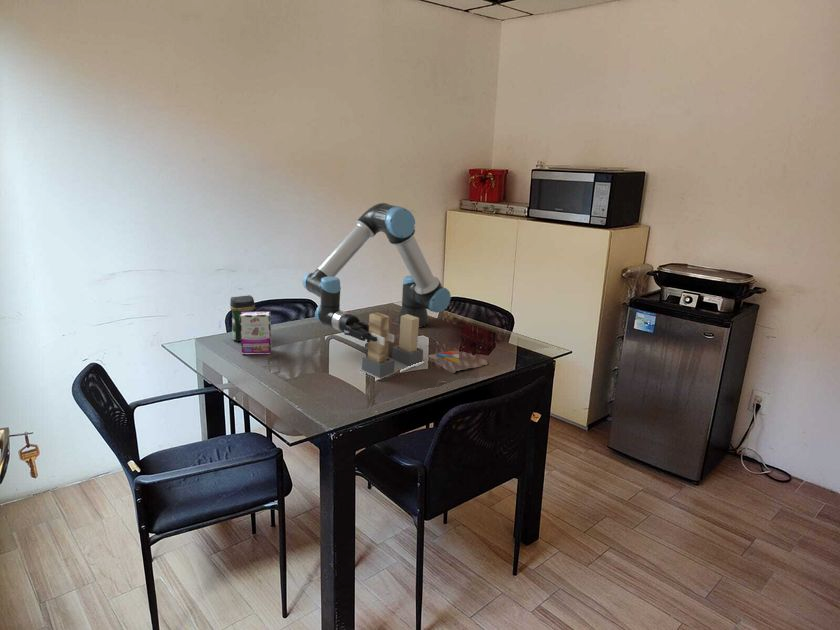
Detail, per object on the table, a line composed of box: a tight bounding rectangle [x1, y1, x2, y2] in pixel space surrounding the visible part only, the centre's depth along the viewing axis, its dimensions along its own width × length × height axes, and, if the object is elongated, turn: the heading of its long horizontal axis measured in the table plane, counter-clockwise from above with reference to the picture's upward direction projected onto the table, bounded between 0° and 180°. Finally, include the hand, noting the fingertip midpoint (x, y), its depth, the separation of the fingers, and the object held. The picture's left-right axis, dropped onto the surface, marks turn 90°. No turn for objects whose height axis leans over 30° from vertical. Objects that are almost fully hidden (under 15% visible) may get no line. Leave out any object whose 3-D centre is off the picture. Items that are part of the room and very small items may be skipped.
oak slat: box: [367, 311, 390, 364], centre depth 203 cm, size 4×6×18 cm, turn 48°
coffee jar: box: [229, 294, 256, 342], centre depth 229 cm, size 10×8×19 cm
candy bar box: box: [240, 311, 272, 354], centre depth 216 cm, size 11×5×16 cm, turn 102°
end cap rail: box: [359, 314, 424, 378], centre depth 210 cm, size 25×10×19 cm, turn 138°
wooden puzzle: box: [427, 350, 460, 363], centre depth 222 cm, size 18×19×4 cm
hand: (388, 340), depth 199 cm, fingers closed on oak slat, 4 cm apart
